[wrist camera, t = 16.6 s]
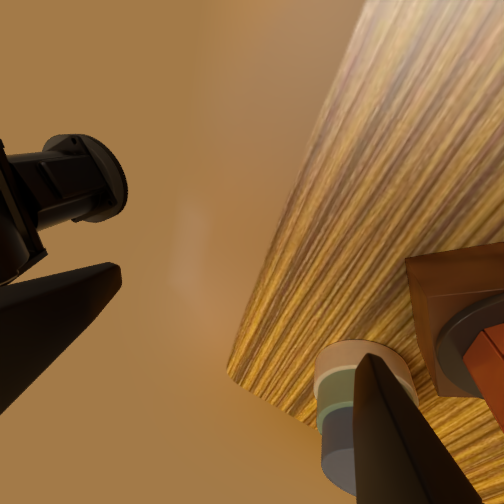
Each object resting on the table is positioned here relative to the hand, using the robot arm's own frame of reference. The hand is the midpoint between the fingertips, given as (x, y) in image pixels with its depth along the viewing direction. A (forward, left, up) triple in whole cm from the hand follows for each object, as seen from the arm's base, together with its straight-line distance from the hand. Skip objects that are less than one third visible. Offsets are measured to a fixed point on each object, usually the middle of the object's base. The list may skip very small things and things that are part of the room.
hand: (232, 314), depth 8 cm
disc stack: (+2, -19, -13) cm, 23 cm away
